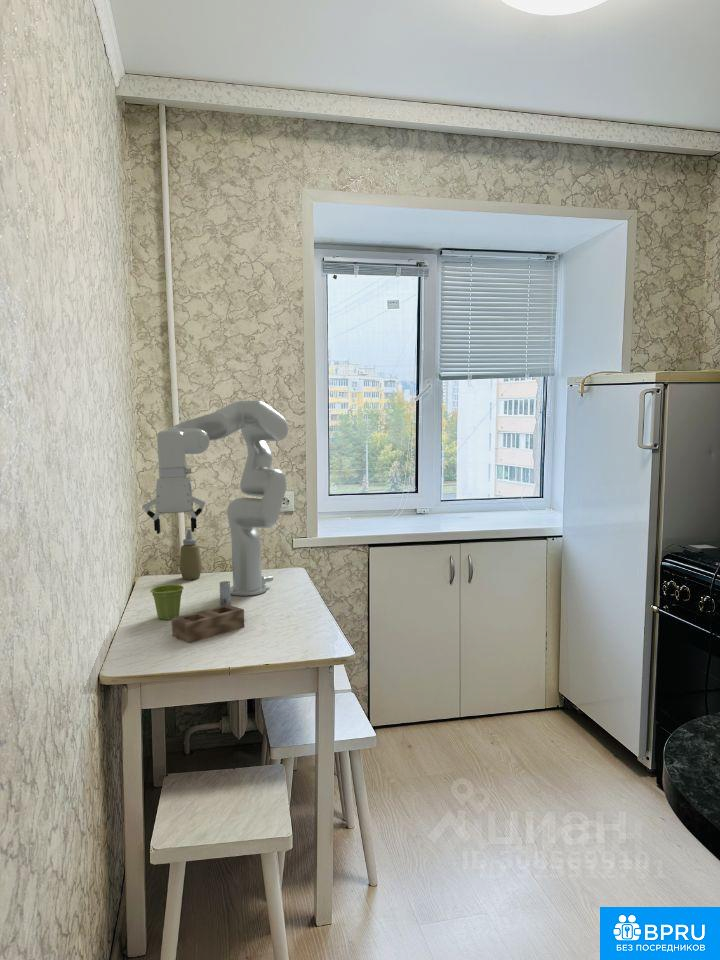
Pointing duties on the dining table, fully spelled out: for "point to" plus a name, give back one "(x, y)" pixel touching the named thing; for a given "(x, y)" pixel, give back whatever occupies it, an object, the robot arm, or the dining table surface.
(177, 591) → the plant pot
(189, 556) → the squeeze bottle
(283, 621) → the dining table surface
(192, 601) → the dining table surface
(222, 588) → the pin
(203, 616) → the socket block
